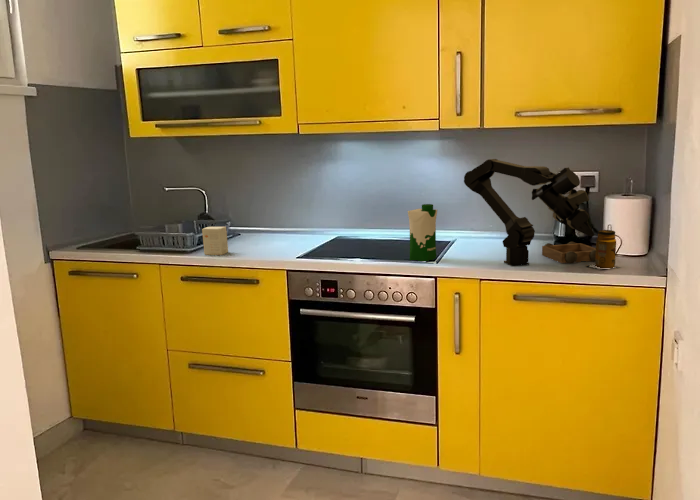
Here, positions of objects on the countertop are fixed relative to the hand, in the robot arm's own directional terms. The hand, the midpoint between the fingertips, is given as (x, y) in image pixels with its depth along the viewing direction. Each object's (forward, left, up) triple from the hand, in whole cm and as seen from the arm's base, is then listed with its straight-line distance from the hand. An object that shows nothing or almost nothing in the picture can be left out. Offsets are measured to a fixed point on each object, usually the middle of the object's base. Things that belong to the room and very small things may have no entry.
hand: (587, 233), depth 201 cm
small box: (-121, +67, -12) cm, 139 cm away
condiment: (+5, -1, -12) cm, 13 cm away
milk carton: (-47, +29, -12) cm, 56 cm away
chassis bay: (+3, +15, -11) cm, 19 cm away
